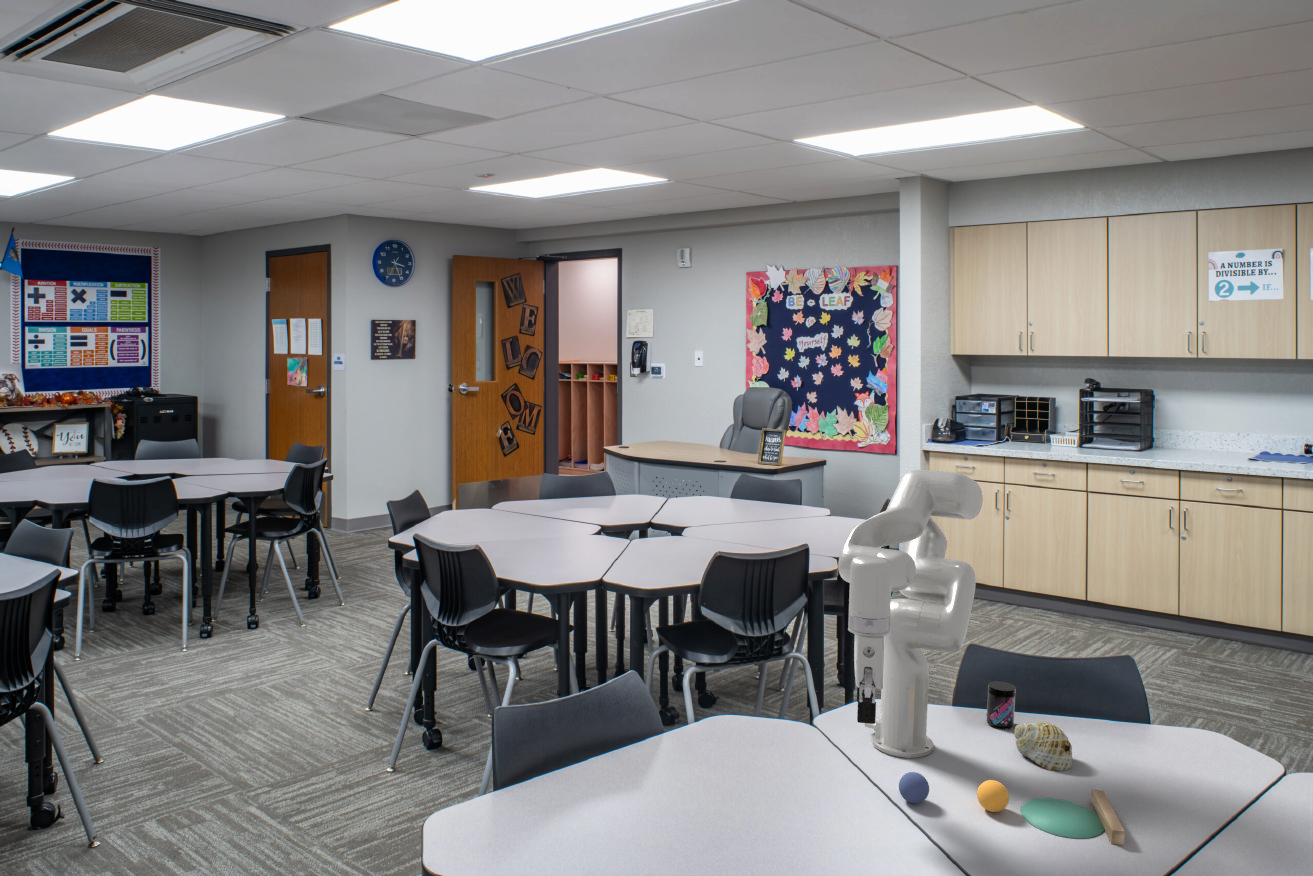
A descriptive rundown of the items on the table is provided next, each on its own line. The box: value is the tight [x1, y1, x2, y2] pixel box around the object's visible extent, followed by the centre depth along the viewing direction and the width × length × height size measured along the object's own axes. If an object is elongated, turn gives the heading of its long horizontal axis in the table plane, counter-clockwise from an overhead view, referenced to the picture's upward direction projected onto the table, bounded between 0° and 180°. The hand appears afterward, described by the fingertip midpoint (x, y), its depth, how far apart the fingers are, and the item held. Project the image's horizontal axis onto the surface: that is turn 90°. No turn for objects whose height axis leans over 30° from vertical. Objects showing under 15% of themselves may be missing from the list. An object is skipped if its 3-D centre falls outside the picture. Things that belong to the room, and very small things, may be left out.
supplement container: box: [986, 680, 1017, 730], centre depth 212 cm, size 6×6×9 cm
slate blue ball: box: [898, 771, 930, 804], centre depth 176 cm, size 6×6×6 cm
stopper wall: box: [1090, 789, 1126, 846], centre depth 169 cm, size 2×15×2 cm, turn 168°
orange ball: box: [976, 779, 1010, 813], centre depth 173 cm, size 6×6×6 cm
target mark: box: [1020, 797, 1105, 839], centre depth 171 cm, size 14×14×1 cm
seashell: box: [1014, 721, 1073, 772], centre depth 195 cm, size 10×10×10 cm
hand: (865, 712), depth 177 cm, fingers open, 9 cm apart
